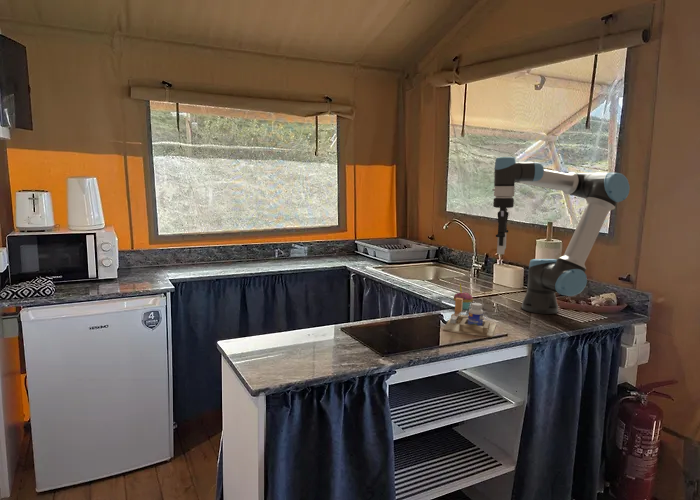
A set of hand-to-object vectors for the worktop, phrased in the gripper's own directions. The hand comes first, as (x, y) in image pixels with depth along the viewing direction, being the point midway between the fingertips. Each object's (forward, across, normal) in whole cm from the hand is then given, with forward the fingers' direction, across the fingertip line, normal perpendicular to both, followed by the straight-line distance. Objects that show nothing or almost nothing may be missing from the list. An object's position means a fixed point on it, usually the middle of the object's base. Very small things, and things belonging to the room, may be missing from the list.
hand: (501, 251), depth 190 cm
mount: (+29, +13, -10) cm, 33 cm away
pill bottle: (+28, +15, -8) cm, 33 cm away
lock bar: (+25, +14, -15) cm, 32 cm away
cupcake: (+29, -16, -16) cm, 37 cm away
